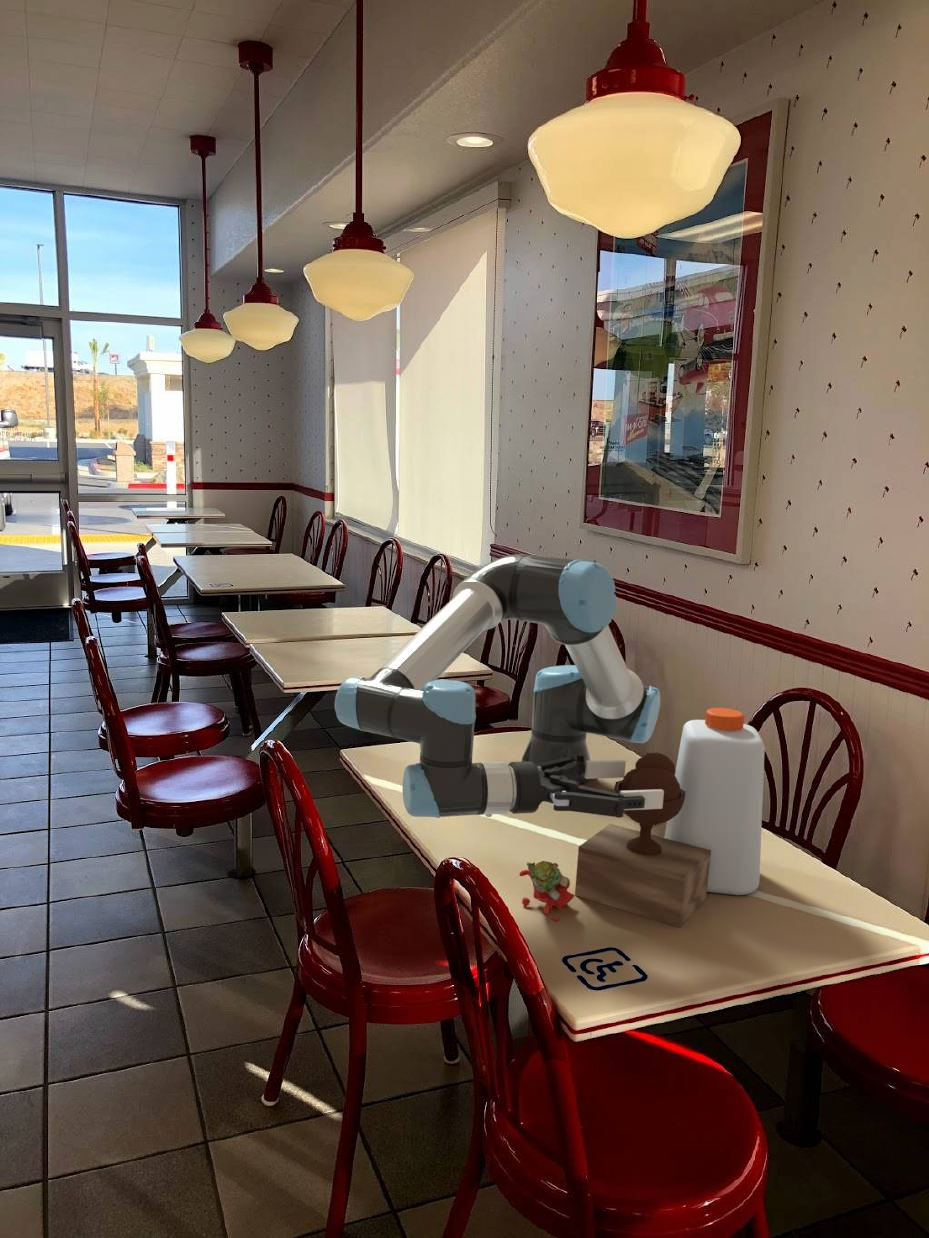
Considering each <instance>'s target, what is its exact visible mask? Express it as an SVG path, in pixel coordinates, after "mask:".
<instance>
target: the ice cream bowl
mask: <svg viewBox="0 0 929 1238" xmlns="http://www.w3.org/2000/svg"><path fill="white" fill-rule="evenodd" d="M675 766H676V765H675V763H674V762H673V761H672V760H671V758H669V757H668V756H667V755H665V754H663V753H660V752H647V753H645V754H644V755H643V756H641V757H639V758H638V759H637V760H636V761H635V766H634V767H635V768H632V769H630V770H629V771H628V772H626V773H625V776H624V778H623V779H622V780H621V779H620V780H618V781H615V784H614V787H613V792H614V793H620V791H628V790H655V789H662V790H663V791H664V796H663V807H662V809H644V810H624V814H623V815H626V816H627V817H628V818H629V819H631V820H633V821H634V822H635V823H638V825H639V827H640V830H639V832H640V836H639V837H636V838H634V839H631V840H629V841H628V843H627V847H626V848H628V849H629V850H630V851H631V852H634V853H637V854H641V855H656V854H659V853H661V850H662V848H661V845H660V844H658V843H657V842H656V841H654V840H653V839H652V838H651V835H652V829H653V828H654V826H658V825H661V824H664V823H667V821H669V820H670V819H672V818H673V817H675V816H676V815H677V814H678V813H679V811H680V810H681V808H682V806H683V803H684V800H685V791H684V790H682V789H681V788H680V784H679V782H678V780H677V778H676V777H675V772H676V767H675Z"/></svg>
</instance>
